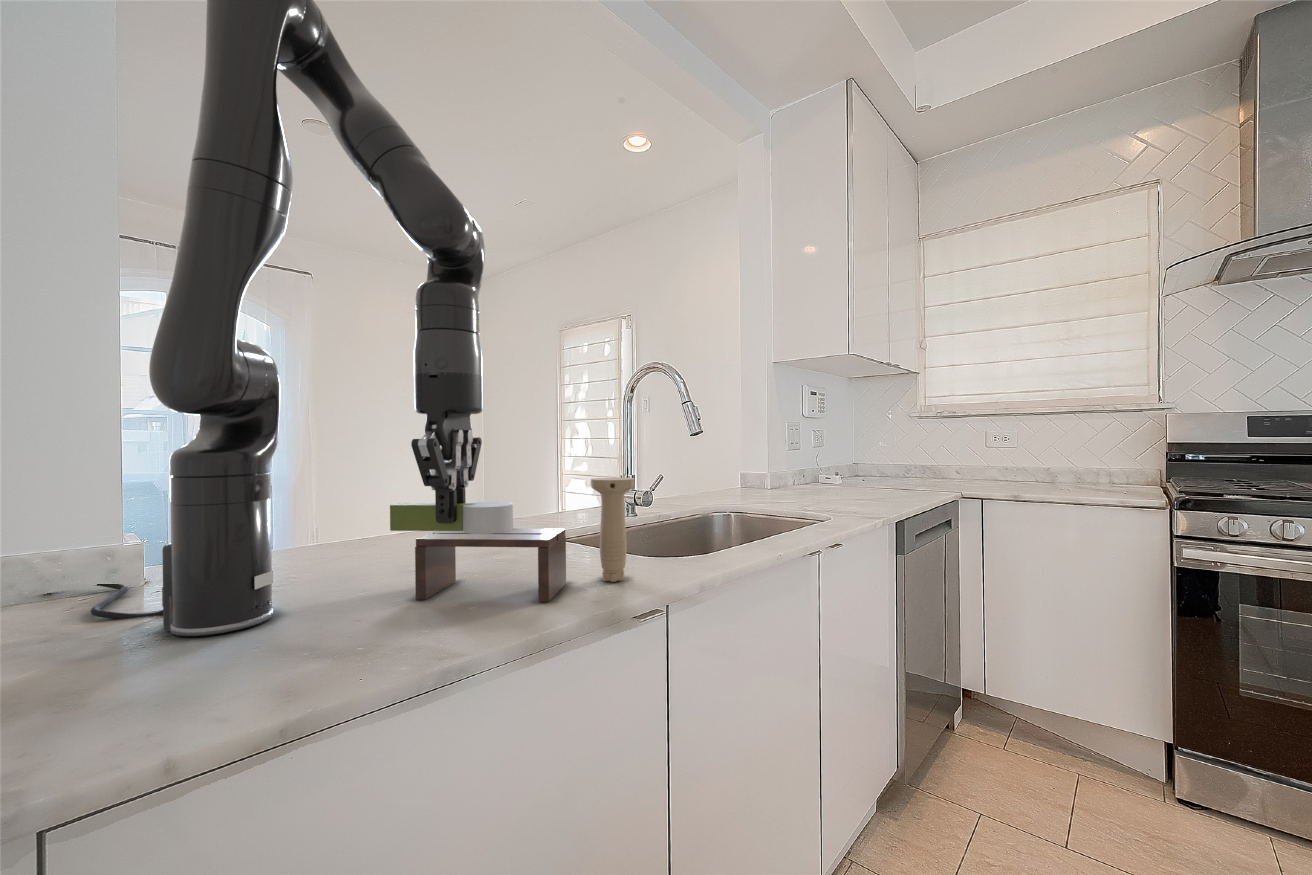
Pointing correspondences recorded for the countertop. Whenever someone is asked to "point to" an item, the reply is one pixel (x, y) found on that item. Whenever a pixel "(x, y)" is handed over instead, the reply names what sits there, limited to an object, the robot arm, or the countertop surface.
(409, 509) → the green handled white cylinder
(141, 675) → the countertop surface
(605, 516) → the handle
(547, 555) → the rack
